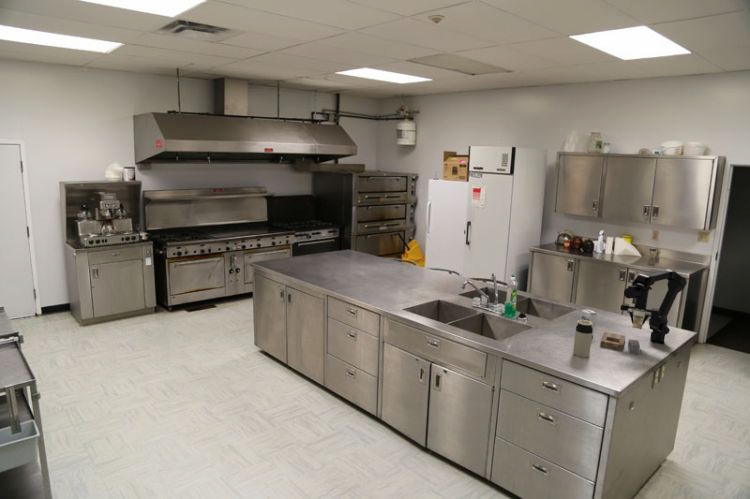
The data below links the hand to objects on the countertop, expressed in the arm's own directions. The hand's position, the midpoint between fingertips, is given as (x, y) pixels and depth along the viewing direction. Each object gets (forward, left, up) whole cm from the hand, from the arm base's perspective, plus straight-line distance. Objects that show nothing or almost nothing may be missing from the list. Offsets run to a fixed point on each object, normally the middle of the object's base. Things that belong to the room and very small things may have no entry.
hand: (637, 324), depth 270 cm
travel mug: (+23, +33, -12) cm, 42 cm away
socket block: (+11, +5, -12) cm, 17 cm away
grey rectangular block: (0, +11, -12) cm, 16 cm away
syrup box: (+25, 0, -12) cm, 28 cm away
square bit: (0, 0, -2) cm, 2 cm away
